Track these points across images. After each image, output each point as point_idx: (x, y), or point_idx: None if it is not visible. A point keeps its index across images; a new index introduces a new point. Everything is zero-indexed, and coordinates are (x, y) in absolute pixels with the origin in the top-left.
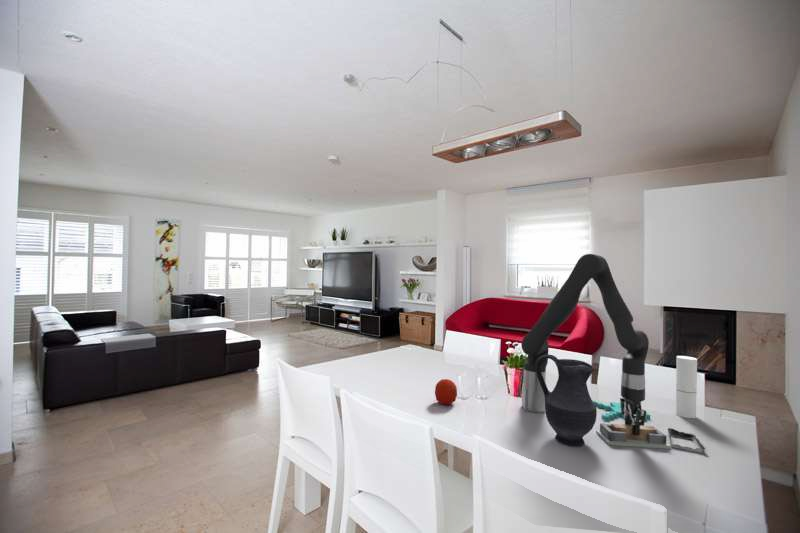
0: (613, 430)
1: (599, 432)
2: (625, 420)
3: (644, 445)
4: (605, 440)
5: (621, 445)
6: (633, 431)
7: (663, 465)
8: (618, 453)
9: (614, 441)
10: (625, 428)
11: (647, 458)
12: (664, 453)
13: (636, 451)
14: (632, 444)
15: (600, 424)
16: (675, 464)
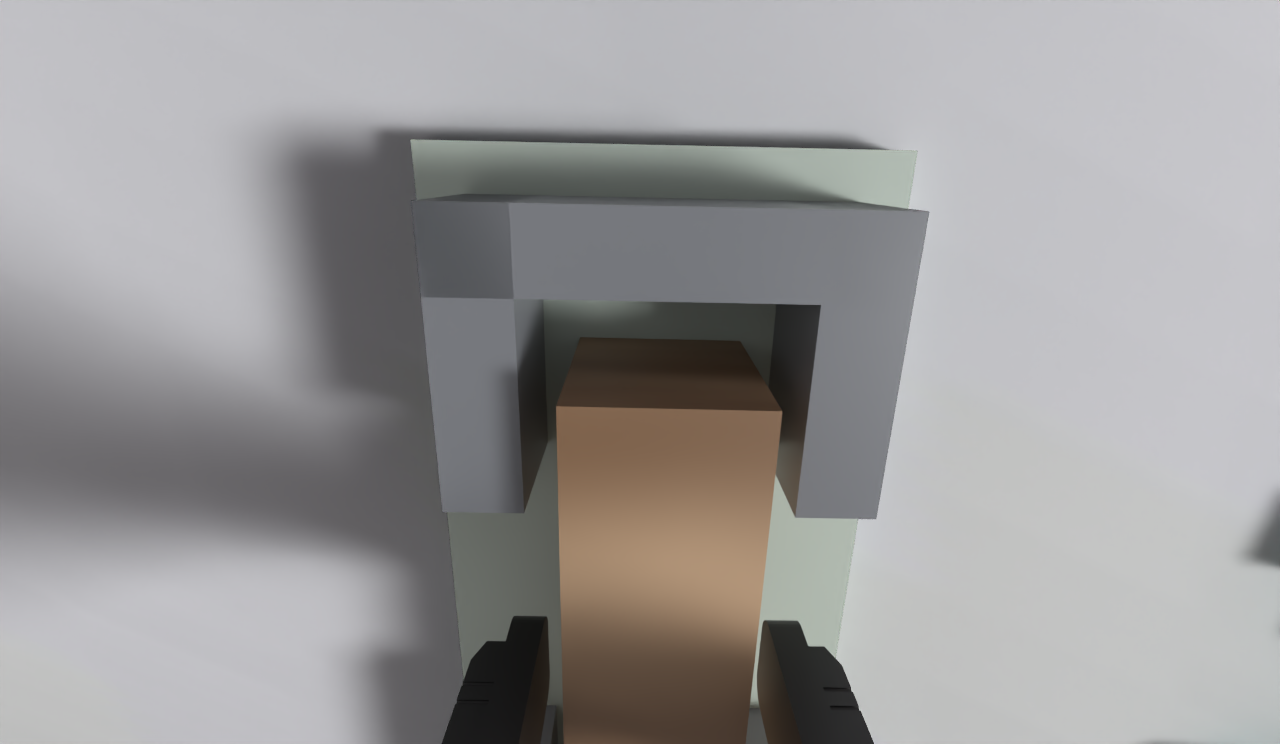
0: (658, 372)
1: (805, 164)
2: (816, 741)
3: (464, 626)
4: (518, 142)
5: None
6: (501, 659)
7: (8, 578)
8: (142, 168)
9: None
10: (564, 583)
11: (135, 496)
12: (353, 726)
13: (308, 461)
14: None
15: (903, 210)
16: (98, 700)
